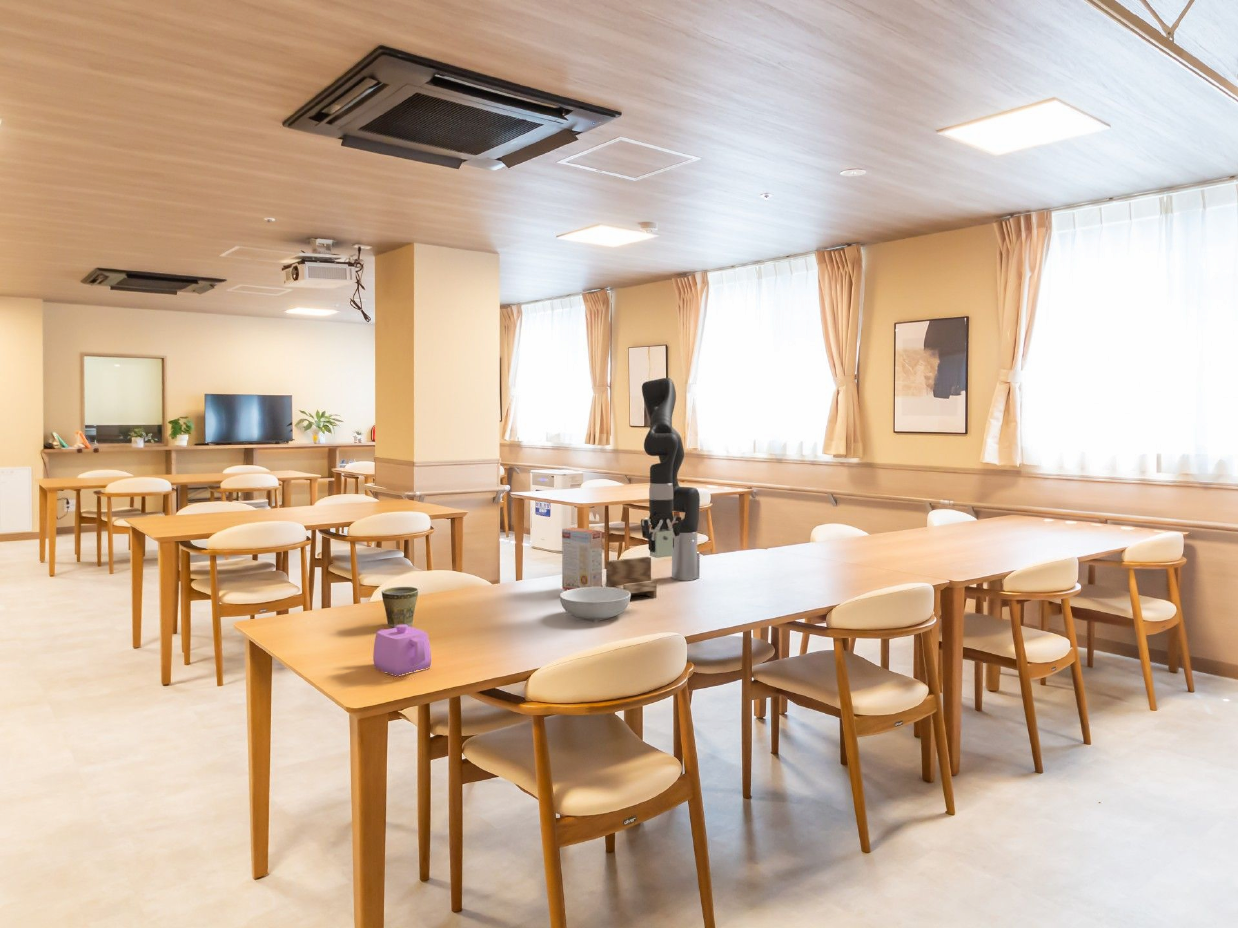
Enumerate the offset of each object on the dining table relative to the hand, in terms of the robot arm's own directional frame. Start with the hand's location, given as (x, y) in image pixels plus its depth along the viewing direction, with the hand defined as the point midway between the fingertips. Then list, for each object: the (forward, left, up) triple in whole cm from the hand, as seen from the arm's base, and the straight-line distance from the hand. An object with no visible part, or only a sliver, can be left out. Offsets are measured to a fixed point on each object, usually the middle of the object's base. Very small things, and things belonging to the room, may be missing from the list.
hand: (661, 550), depth 257 cm
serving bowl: (+25, +3, -17) cm, 31 cm away
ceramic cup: (+77, -17, -17) cm, 81 cm away
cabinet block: (0, 0, -2) cm, 2 cm away
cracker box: (+12, -30, -17) cm, 37 cm away
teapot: (+88, +23, -17) cm, 93 cm away
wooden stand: (+2, -13, -17) cm, 21 cm away
